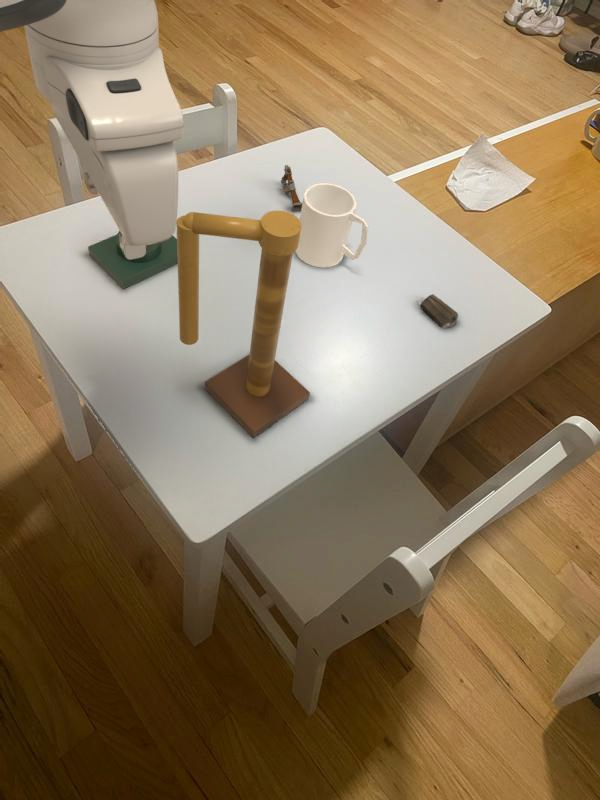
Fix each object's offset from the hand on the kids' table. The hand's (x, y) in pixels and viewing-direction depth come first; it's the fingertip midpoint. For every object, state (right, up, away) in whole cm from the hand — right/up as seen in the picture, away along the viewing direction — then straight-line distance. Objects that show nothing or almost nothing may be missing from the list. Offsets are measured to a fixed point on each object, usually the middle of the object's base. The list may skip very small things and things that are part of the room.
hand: (114, 220), depth 54 cm
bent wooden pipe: (+8, -9, +19) cm, 22 cm away
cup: (+21, +8, +46) cm, 51 cm away
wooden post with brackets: (+15, +20, +53) cm, 59 cm away
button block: (-8, +6, +39) cm, 41 cm away
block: (+39, -3, +41) cm, 57 cm away
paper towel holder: (+11, -15, +27) cm, 33 cm away
